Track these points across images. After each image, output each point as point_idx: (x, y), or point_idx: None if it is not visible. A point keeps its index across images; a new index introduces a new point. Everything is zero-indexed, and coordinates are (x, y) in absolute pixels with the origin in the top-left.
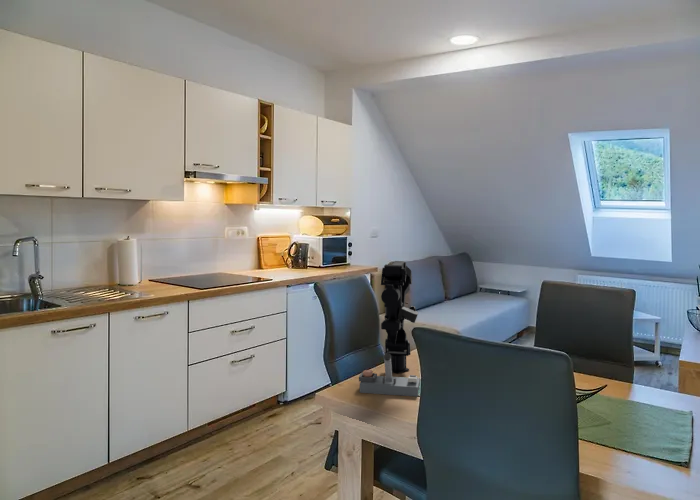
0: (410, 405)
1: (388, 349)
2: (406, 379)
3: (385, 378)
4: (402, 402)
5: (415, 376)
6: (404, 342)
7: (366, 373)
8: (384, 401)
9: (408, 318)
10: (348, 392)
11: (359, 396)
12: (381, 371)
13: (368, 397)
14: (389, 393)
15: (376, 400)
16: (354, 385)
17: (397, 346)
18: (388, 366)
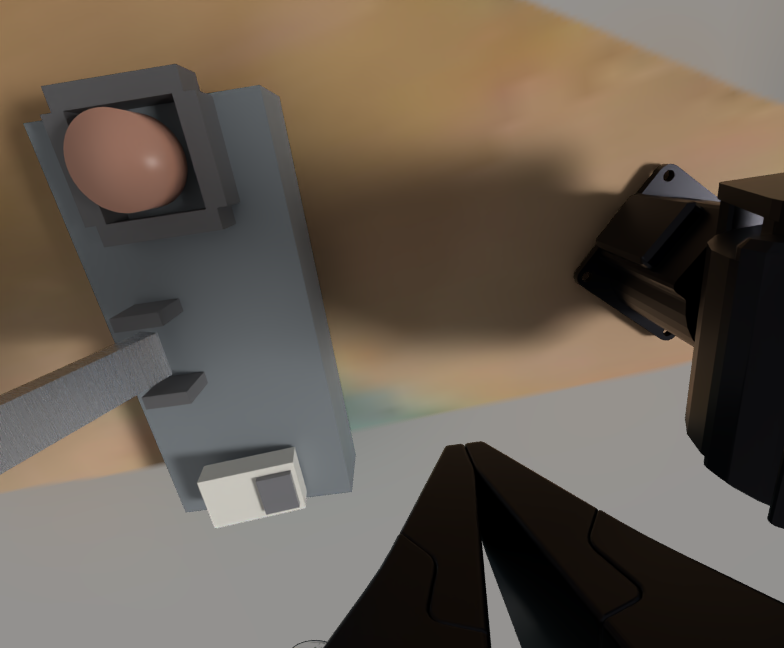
0: (69, 468)
1: (707, 247)
2: (296, 428)
3: (253, 292)
4: (83, 426)
5: (265, 511)
6: (751, 491)
7: (70, 162)
8: (36, 336)
9: None
10: (30, 32)
11: (11, 154)
12: (614, 140)
13: (34, 223)
14: None
15: (20, 288)
16: (202, 21)
17: (709, 381)
18: None
